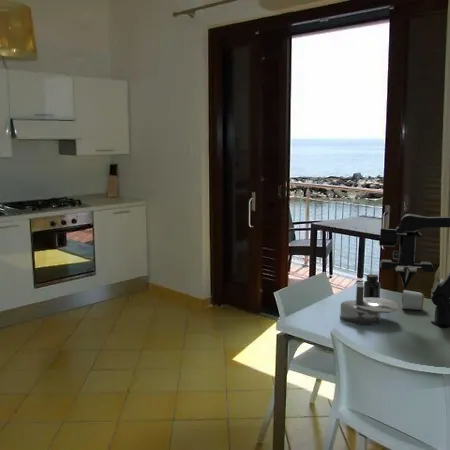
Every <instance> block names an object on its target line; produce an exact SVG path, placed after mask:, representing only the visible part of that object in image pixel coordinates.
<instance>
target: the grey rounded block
mask: <svg viewBox="0 0 450 450" xmlns="http://www.w3.org/2000/svg"><path fill="white" fill-rule="evenodd" d="M424 297H425V296H424V293H422V292H420V291H419V292H418V291H414V290H413V291H412V290H406V289H404V290H402V295H401V309H404V310H415V311H421V310H423V307H424V300H425V299H424Z"/></svg>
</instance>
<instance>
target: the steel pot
mask: <svg viewBox="0 0 450 450" xmlns="http://www.w3.org/2000/svg"><path fill="white" fill-rule="evenodd" d="M355 301H356V299H355V300H353V299H352V300H346V301H345V300H344V301H342V302H341V303H340V313H339V317H340V319H341V320H342V321H343V322H346V323H349V324H353V325H354V324H355V325H362V326H366V325H367V326H368V325H375V324H378V323H380V321H381V313H376V312H369V311H365V310H362V309H359V308H357V307H356V306H355Z"/></svg>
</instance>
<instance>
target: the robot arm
mask: <svg viewBox="0 0 450 450" xmlns="http://www.w3.org/2000/svg"><path fill="white" fill-rule="evenodd" d="M427 228H450V216H424V215H420V214H413V213H406V214H404V215H403V216H402V217H401V219H400V223H399V224H398V226H396V228H395V229H394V228H385V227H382V228H380V234H379V238H378V239H379V242H378V245H379V246H380V247H393V248H394V247H395V246H396V245H398V244H399V250H393V251H392V259H393V260H397V262H396V261H395V262H393V261H392V259H381V260H380V262H379V267H380V269H381V270H388V271H390V270H391V269H392V268H394V269H395V271H396V273H399V276H400V280H401V282H402V286H403V289H407V287H408V285H409V283H410V281H411V279H412V278H413V276H414V275H415V274H418V272H417V271H418V269H419V270H422V271H423V272H425V273H434V265H433V263H431V261H420V263H415V262H416V261H415V259H416V247H417V245H416V244H417V238H422V233H421V232H419V230H422V229H427ZM404 232H405V233H404ZM405 269H406V271H405ZM430 290H431V294H430V296H431V302H432V303H433V305H435V310H434V320H431V321H430V322H431V323H432V324H433V325H436V326H437V327H439V328H441V329H444V328H450V272H449V273H448V274H447V276H446V277H445V279H444V280H443V281H441V282H439V281H438V280H437V281H436V283H435V284H434V286H433V287H432V288H431V289H430Z"/></svg>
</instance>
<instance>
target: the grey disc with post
mask: <svg viewBox="0 0 450 450" xmlns="http://www.w3.org/2000/svg"><path fill="white" fill-rule="evenodd" d="M355 291H356V292H355V300H356V301H355V306H356V307H357V308H359V309H362V310H365V311H369V312H376V313H380V314H390V313H395V312H397V311H398V310H399V304H398V302H396V301H394V300H391V299H388V298H382V297H380V298H374V297H367V298H364V282H363V281H356V289H355Z"/></svg>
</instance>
